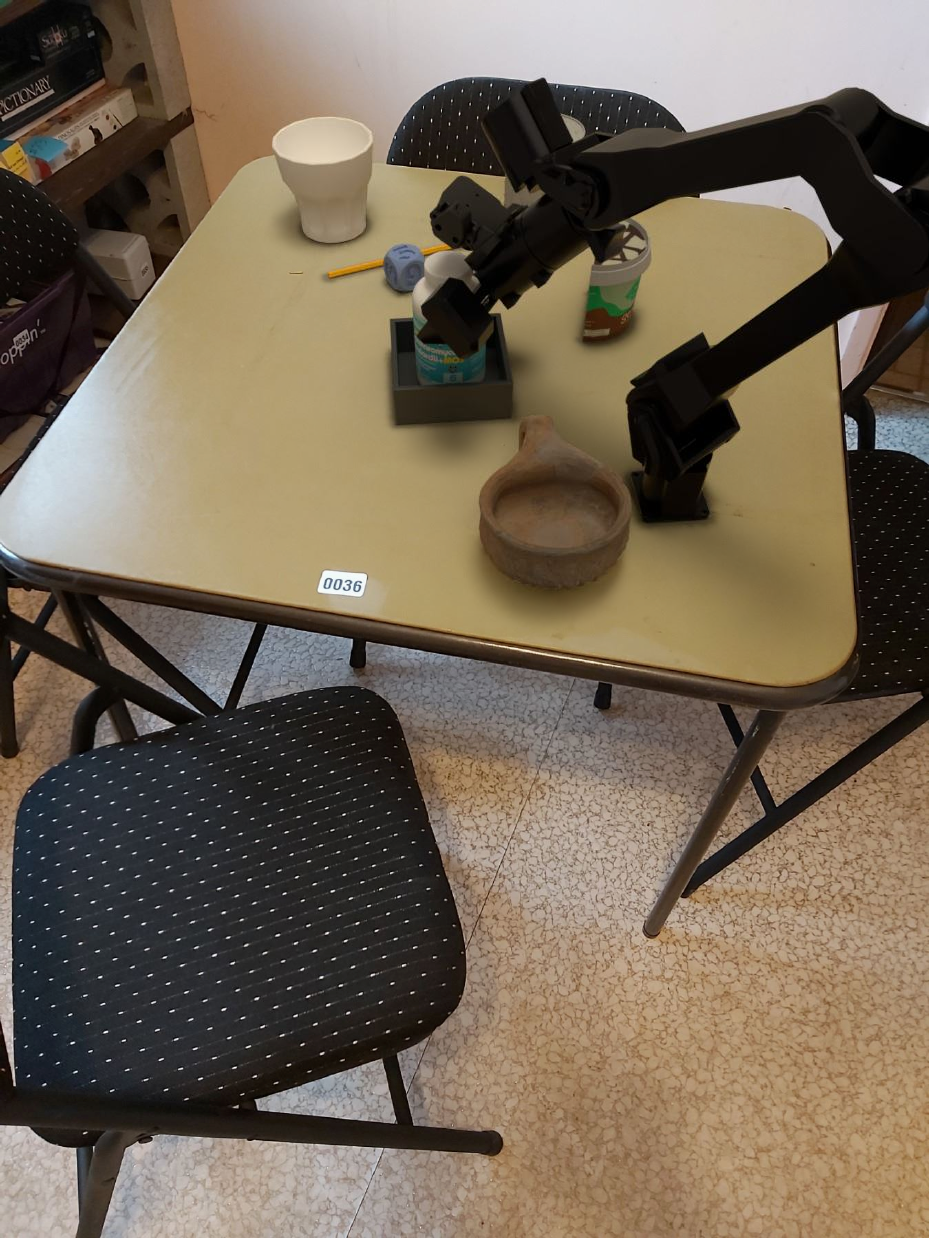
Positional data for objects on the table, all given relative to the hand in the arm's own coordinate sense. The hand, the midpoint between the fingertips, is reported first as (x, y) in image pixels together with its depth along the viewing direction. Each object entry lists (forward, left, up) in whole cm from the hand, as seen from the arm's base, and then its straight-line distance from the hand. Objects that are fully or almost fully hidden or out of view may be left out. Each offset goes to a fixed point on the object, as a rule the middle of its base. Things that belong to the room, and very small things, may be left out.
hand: (437, 318), depth 86 cm
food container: (+9, -21, -8) cm, 25 cm away
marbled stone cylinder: (+30, -15, -8) cm, 35 cm away
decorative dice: (+19, +3, -8) cm, 21 cm away
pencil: (+25, +4, -8) cm, 26 cm away
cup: (+33, +12, -8) cm, 36 cm away
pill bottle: (-1, -1, -7) cm, 7 cm away
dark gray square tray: (-1, -1, -8) cm, 8 cm away
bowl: (-24, -8, -8) cm, 26 cm away
